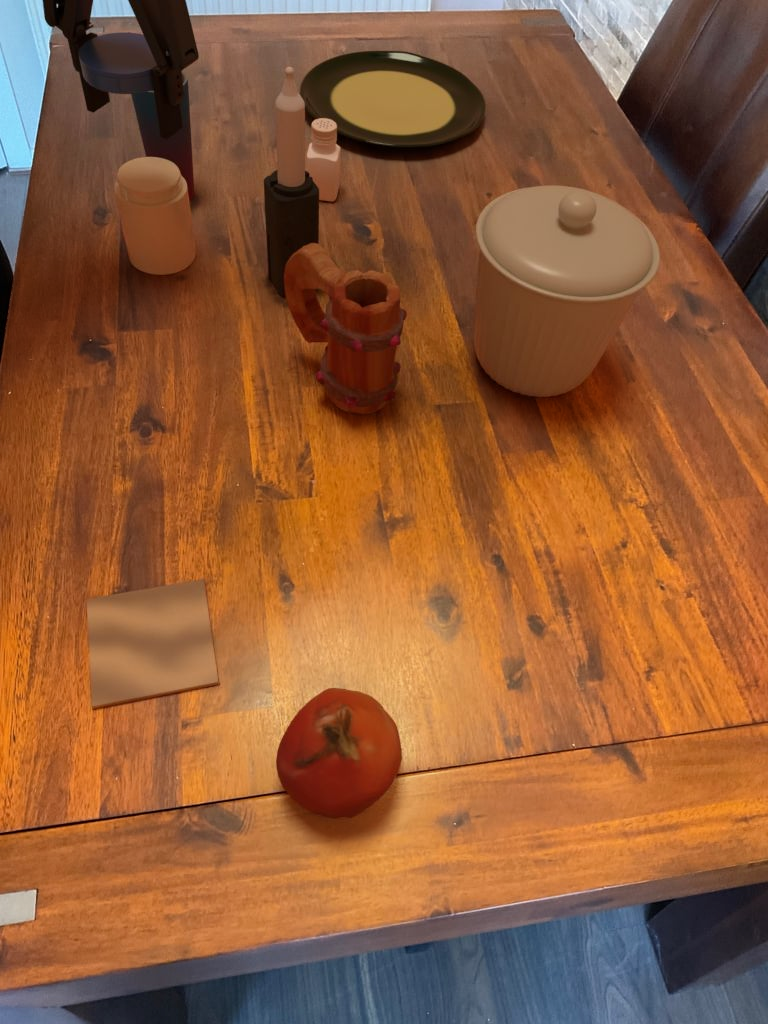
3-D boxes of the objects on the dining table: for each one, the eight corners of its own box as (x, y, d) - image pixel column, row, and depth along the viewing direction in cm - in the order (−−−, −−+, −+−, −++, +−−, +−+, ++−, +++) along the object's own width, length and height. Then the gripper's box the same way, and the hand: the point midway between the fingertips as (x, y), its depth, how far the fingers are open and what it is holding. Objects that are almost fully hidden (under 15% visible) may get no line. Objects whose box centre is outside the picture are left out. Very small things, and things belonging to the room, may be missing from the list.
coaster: (87, 601, 69) (86, 598, 69) (204, 581, 71) (204, 578, 71) (92, 709, 64) (91, 706, 63) (219, 684, 66) (218, 681, 65)
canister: (428, 324, 94) (455, 154, 77) (564, 300, 98) (618, 134, 81) (489, 436, 84) (535, 271, 67) (637, 404, 89) (716, 241, 72)
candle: (265, 274, 97) (254, 58, 76) (303, 264, 98) (303, 50, 78) (281, 299, 94) (274, 84, 74) (321, 289, 96) (325, 75, 76)
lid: (164, 97, 75) (161, 77, 74) (75, 91, 75) (70, 70, 73) (175, 55, 80) (172, 35, 79) (91, 49, 79) (87, 29, 78)
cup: (192, 213, 103) (177, 96, 90) (140, 205, 103) (118, 86, 91) (207, 184, 107) (195, 68, 94) (157, 176, 107) (138, 59, 95)
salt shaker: (339, 187, 109) (342, 118, 101) (335, 203, 106) (338, 134, 99) (310, 183, 109) (310, 114, 101) (305, 200, 106) (305, 130, 99)
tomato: (400, 718, 65) (410, 677, 59) (393, 836, 60) (404, 805, 53) (286, 707, 65) (284, 665, 58) (270, 825, 60) (265, 792, 53)
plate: (309, 57, 129) (309, 41, 127) (480, 74, 131) (482, 58, 128) (290, 150, 113) (290, 133, 111) (486, 170, 114) (489, 153, 112)
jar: (114, 260, 96) (96, 178, 87) (155, 226, 100) (141, 146, 92) (170, 283, 94) (156, 202, 86) (209, 248, 99) (199, 168, 90)
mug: (415, 399, 86) (433, 286, 74) (364, 439, 82) (374, 326, 70) (318, 332, 91) (320, 215, 79) (266, 366, 88) (259, 250, 75)
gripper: (226, -146, 63) (243, 134, 81) (11, -206, 67) (74, 74, 85) (170, -121, 58) (202, 168, 77) (-56, -186, 63) (25, 103, 81)
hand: (134, 118), depth 81 cm, fingers closed on lid, 8 cm apart
